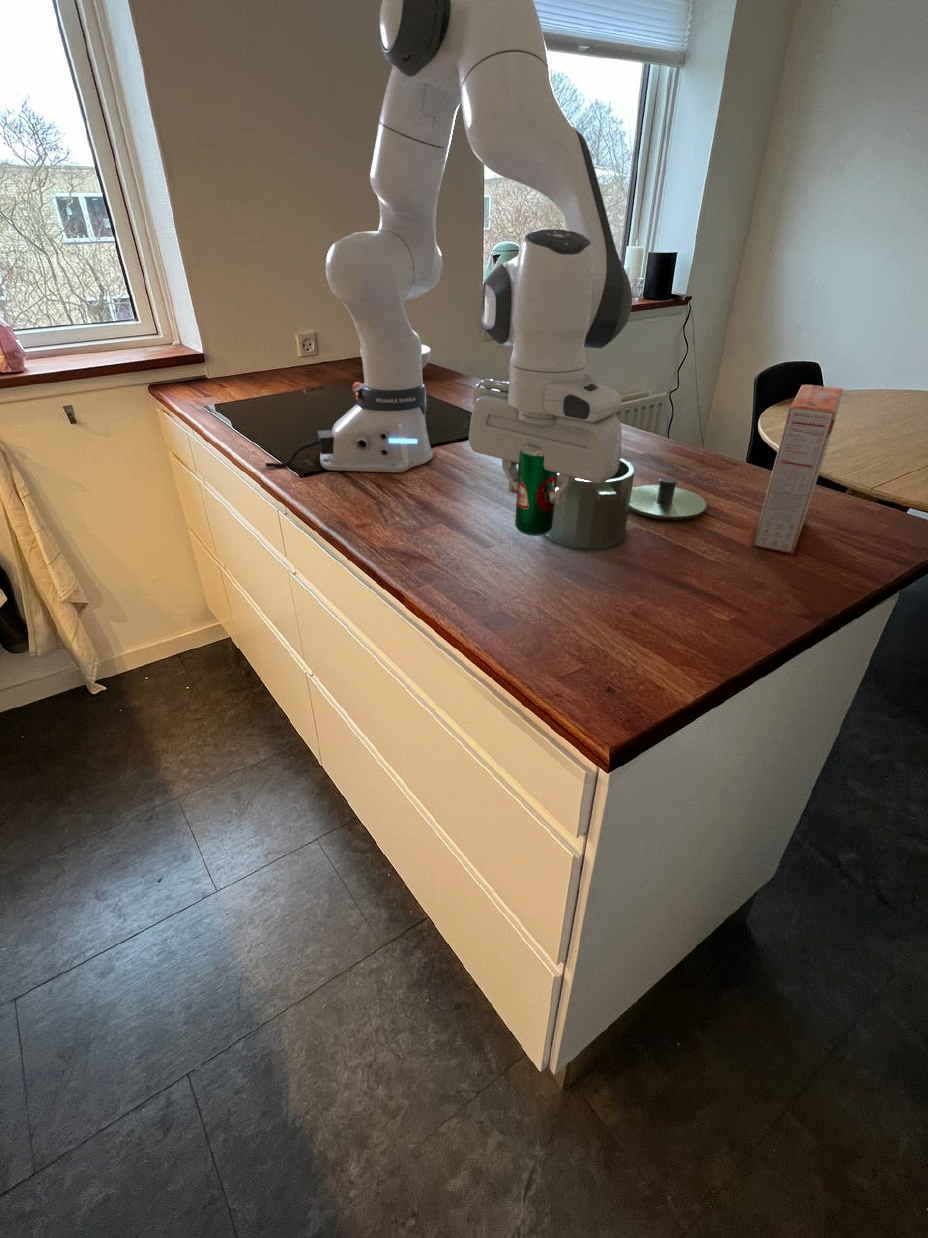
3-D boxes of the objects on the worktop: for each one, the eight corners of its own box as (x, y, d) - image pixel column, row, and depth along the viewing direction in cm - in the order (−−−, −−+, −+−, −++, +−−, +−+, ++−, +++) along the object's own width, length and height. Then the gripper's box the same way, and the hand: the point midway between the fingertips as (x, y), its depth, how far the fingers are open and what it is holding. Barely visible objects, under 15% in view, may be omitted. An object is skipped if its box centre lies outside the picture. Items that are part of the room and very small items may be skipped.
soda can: (512, 521, 88) (516, 435, 81) (548, 520, 88) (555, 435, 81) (517, 538, 84) (522, 448, 77) (555, 536, 84) (563, 447, 77)
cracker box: (764, 513, 105) (801, 382, 93) (803, 521, 102) (847, 387, 91) (749, 546, 95) (788, 403, 83) (792, 556, 92) (839, 410, 81)
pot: (557, 560, 91) (563, 491, 85) (532, 509, 106) (536, 448, 100) (641, 555, 92) (654, 487, 86) (605, 506, 107) (613, 445, 101)
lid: (638, 525, 101) (642, 497, 98) (611, 492, 112) (615, 467, 110) (719, 521, 102) (725, 493, 100) (685, 489, 114) (690, 464, 111)
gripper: (459, 380, 78) (458, 486, 86) (611, 410, 69) (595, 526, 76) (488, 371, 83) (484, 473, 90) (635, 398, 73) (617, 509, 81)
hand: (536, 497), depth 83 cm, fingers closed on soda can, 5 cm apart
